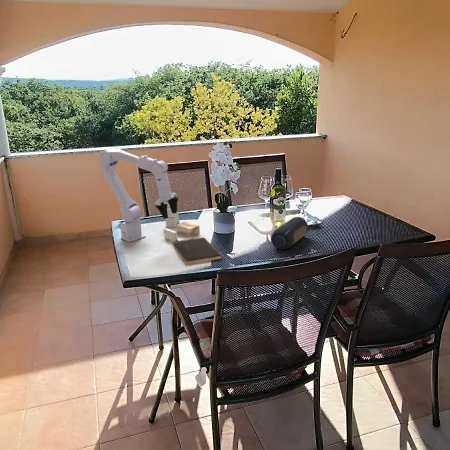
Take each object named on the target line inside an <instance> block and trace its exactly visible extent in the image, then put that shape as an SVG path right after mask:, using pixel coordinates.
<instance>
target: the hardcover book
mask: <svg viewBox="0 0 450 450" xmlns="http://www.w3.org/2000/svg"><path fill="white" fill-rule="evenodd" d="M171 243H172V245H173V247H174V248H175V250H176V252H177V253H178V254H179V256H180V257H181V258H182V259H183V261H184V263H185V264H186V265H192V263H193V264H198V262H199V263H205V262H209V260H211V261H215V260H222V259H223V256H222V254H221V253H220V252H219V251H218V250H217V249H216V248H215V247H214V246H213V245H212V244H211V243H210V242H209V241H208V240H207V239H206V238H205V237H198V238H192V239H190V240H184V241H180V240H179V241H176V242H174V241H172V242H171ZM204 261H205V262H204Z"/></svg>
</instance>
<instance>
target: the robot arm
mask: <svg viewBox="0 0 450 450" xmlns="http://www.w3.org/2000/svg"><path fill="white" fill-rule="evenodd" d="M97 160H98V163H99V164H100V171H101V173H102V175H103V176H104V178H105V181H106V182H107V183H108V185H109V187H110V188H111V190H112V192H113V194H114V196H115V197H116V199H117V200H118V201H117V202H119V203H120V204H119V205H120V208H119V211H120V213H121V218H122V219H123V220H124V221H123V222H121V224H120V239H121V240H124V241H126V242H128V243H133V242H134V241H138V240H141V239H144V238H146V237H147V236H146V235H144V234H143V233H142V222H141V221H142V220H141V216H142V215H143V209H142V207H141V205H139V204H138V203H137V202H136V200H134V199H132V198H131V197H130V195H129V193H128V191H127V190H126V187H125V186H124V184H123V182H122V181H121V179H120V177H119V176H118V174H117V172H116V171H115V169H116V166H117V164H118V162H119V161H123V162H128V163H131V164H135V165H137V167H138V168H139V169H142V170H145V171H147V172H150V173H151V174H152V175H153V176H154V178H155V184H156V186H157V187H156V188H157V191H158V195H159V198H157V200H155V201H154V202H155V205H154V206H155V208H156V209H157V210H158V211H159V213H160V215H161V217H162V218H163V220H165V219H167V218H168V213H167V205H168V204H164V202H166V201H168V203H169V205H170V208H171V211H172V214H173V213H177V203H178V204H179V197H178V195H177V192H172V190H171V185H170V180H169V176H168V169H169V165H168V164H167V162H166V161H164V160H163V159H160V160H157V159H156V158H154V159H153V158H151V157H149V155H147V154H145V155H141V156H137V155H135V154H132V153H129V152H127V151H125V150H123V149H121V148H117V147H111V148H109V149H105V150H102V151H100V153H98V158H97Z"/></svg>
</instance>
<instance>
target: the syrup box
mask: <svg viewBox="0 0 450 450" xmlns="http://www.w3.org/2000/svg"><path fill="white" fill-rule="evenodd" d="M164 204H168V205H167V213H168V218H167V219H164V220H165V226H166V228H167V227H168V228H177V224H180V214H179V202H178V203H177V213H173V214H172V211H171V208H170V205H169V203H168V201H166V202H164Z"/></svg>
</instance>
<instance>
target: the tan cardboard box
mask: <svg viewBox="0 0 450 450" xmlns="http://www.w3.org/2000/svg"><path fill="white" fill-rule="evenodd" d="M176 232H177V235H178V234H179V235H181V236H184V237H187V238H183V239H180V240H179V241H184V240H191V239H193V238H194V237H196V236H199V235H200V234H201V231H200V225H198V224H195V223H192V222H189V221H184V222H181V223H180V222H179V224H177V226H176Z"/></svg>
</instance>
